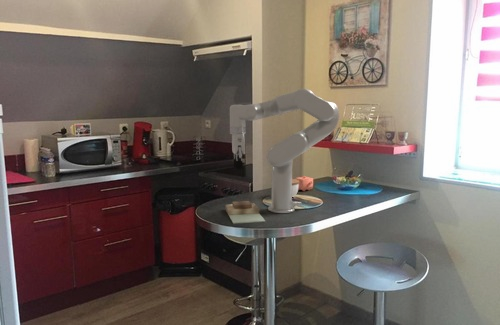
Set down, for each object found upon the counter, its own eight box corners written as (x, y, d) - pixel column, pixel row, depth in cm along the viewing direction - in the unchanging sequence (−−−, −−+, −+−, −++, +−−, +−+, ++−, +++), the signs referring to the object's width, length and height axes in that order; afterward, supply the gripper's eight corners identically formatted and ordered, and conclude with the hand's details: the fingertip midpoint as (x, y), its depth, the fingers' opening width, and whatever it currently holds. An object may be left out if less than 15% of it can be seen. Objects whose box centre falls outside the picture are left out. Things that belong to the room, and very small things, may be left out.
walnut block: (248, 204, 203) (248, 200, 203) (251, 208, 196) (251, 204, 196) (232, 205, 201) (232, 201, 201) (234, 209, 195) (234, 205, 194)
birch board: (254, 208, 206) (254, 203, 205) (259, 214, 195) (259, 209, 195) (225, 209, 203) (225, 204, 203) (229, 216, 192) (229, 210, 192)
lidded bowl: (297, 200, 221) (297, 179, 219) (273, 199, 224) (273, 178, 222) (299, 195, 233) (300, 175, 232) (277, 194, 236) (277, 174, 234)
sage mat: (259, 214, 195) (259, 213, 195) (265, 221, 184) (265, 220, 183) (229, 216, 192) (229, 215, 192) (233, 223, 181) (233, 222, 181)
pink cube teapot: (306, 192, 239) (306, 178, 238) (292, 189, 249) (292, 175, 247) (316, 191, 243) (317, 177, 242) (302, 187, 253) (303, 174, 252)
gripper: (248, 131, 196) (249, 170, 199) (242, 129, 213) (242, 165, 215) (232, 132, 195) (233, 171, 197) (227, 129, 211) (227, 165, 214)
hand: (238, 167), depth 206 cm, fingers open, 5 cm apart
